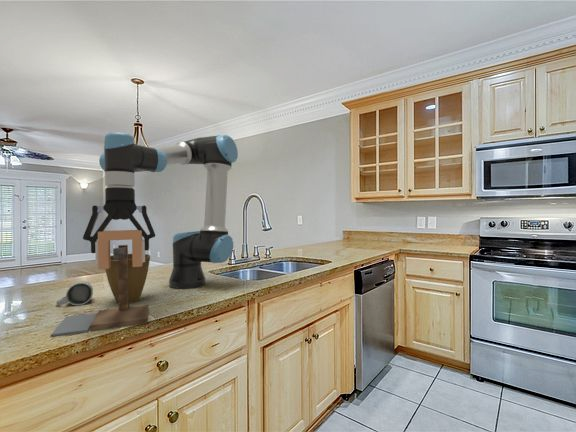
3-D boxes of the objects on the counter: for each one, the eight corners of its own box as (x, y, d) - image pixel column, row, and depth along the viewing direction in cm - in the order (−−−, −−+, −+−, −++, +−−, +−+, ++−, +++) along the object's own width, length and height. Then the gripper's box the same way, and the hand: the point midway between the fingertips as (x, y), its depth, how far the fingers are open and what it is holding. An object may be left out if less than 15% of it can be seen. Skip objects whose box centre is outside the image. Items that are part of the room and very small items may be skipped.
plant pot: (97, 301, 110) (96, 256, 110) (139, 293, 122) (139, 252, 122) (114, 309, 101) (113, 260, 101) (158, 299, 112) (157, 255, 112)
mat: (97, 314, 96) (97, 312, 96) (87, 332, 82) (87, 329, 82) (66, 318, 93) (66, 316, 93) (50, 336, 79) (50, 334, 79)
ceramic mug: (93, 298, 115) (92, 277, 115) (93, 303, 108) (92, 281, 108) (57, 303, 109) (56, 281, 109) (55, 309, 102) (54, 286, 102)
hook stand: (148, 309, 101) (147, 242, 101) (147, 324, 88) (146, 247, 87) (98, 315, 96) (98, 244, 95) (89, 332, 82) (88, 250, 82)
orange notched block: (142, 264, 94) (142, 229, 94) (142, 266, 90) (141, 230, 90) (100, 267, 90) (100, 230, 90) (98, 269, 86) (97, 231, 86)
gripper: (163, 189, 98) (164, 258, 98) (75, 187, 88) (76, 264, 89) (164, 187, 91) (165, 262, 91) (68, 185, 82) (70, 268, 82)
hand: (121, 263), depth 90 cm, fingers closed on orange notched block, 11 cm apart
